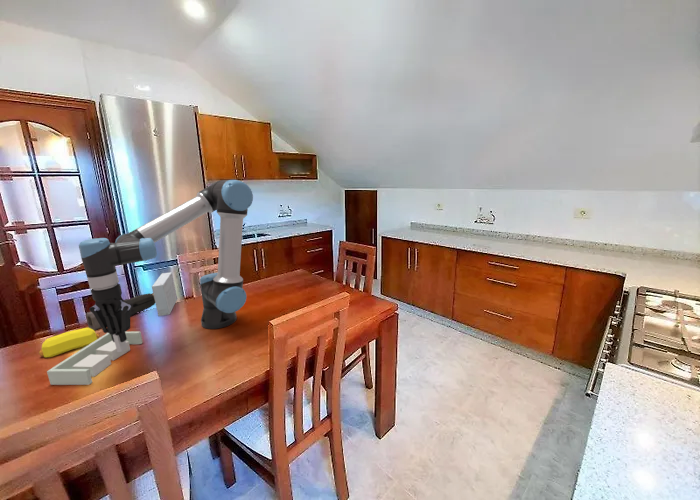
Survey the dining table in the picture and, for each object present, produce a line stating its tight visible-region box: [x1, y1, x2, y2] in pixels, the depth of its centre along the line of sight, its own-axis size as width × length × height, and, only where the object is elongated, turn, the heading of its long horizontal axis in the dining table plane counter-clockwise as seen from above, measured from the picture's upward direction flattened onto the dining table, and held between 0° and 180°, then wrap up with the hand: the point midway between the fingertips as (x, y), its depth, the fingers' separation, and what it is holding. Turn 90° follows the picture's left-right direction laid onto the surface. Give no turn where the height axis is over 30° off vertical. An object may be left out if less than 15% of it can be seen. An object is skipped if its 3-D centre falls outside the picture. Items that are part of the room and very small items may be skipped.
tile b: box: [72, 354, 112, 378], centre depth 104 cm, size 7×7×4 cm
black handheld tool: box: [85, 292, 156, 331], centre depth 144 cm, size 11×7×30 cm
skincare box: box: [151, 272, 178, 317], centre depth 153 cm, size 21×5×16 cm, turn 20°
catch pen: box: [46, 331, 143, 386], centre depth 109 cm, size 13×25×5 cm, turn 179°
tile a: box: [96, 340, 131, 362], centre depth 113 cm, size 7×7×4 cm
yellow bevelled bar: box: [38, 326, 101, 358], centre depth 118 cm, size 18×7×8 cm
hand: (122, 349), depth 103 cm, fingers closed
